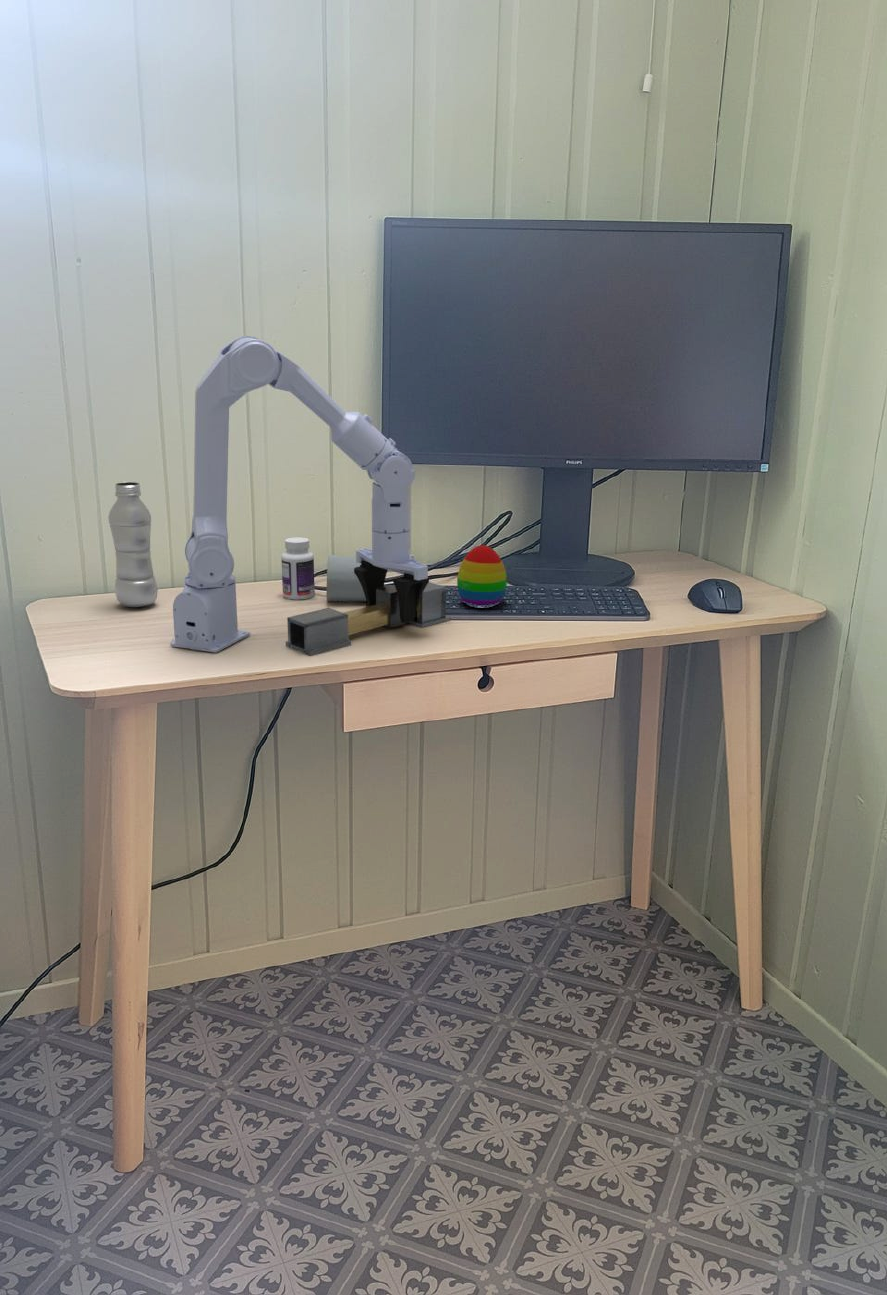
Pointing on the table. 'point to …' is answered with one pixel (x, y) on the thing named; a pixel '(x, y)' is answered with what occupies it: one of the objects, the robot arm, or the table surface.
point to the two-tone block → (377, 612)
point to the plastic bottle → (132, 547)
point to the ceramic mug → (343, 579)
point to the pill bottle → (297, 569)
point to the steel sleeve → (318, 631)
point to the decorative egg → (482, 577)
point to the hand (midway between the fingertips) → (391, 615)
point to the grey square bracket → (431, 606)
